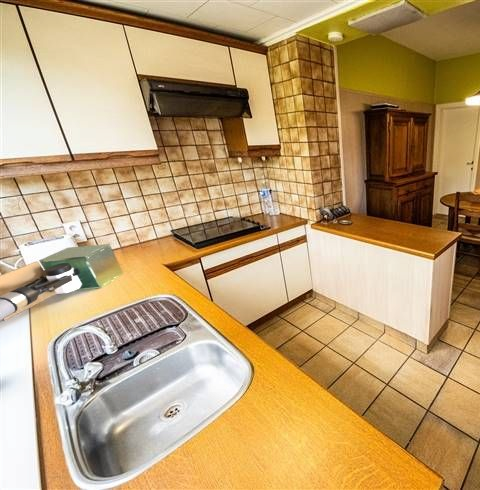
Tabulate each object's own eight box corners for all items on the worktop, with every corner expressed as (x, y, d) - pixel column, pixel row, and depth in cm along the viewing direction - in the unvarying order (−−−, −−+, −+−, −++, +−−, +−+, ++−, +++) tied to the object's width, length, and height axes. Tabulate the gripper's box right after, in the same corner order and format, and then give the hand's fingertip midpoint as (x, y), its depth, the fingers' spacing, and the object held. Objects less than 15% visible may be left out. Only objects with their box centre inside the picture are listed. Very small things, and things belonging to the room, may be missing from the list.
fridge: (102, 288, 133) (85, 256, 126) (58, 292, 131) (38, 260, 124) (123, 273, 147) (109, 243, 139) (84, 277, 145) (67, 247, 138)
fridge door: (-9, 320, 112) (-37, 284, 105) (45, 293, 131) (25, 261, 124) (4, 320, 112) (-22, 284, 105) (58, 293, 130) (38, 261, 123)
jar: (87, 283, 130) (75, 262, 125) (71, 293, 122) (57, 270, 118) (69, 284, 130) (56, 263, 125) (51, 294, 122) (37, 271, 117)
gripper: (-5, 309, 107) (51, 280, 128) (49, 304, 109) (95, 276, 130) (-16, 294, 104) (42, 266, 125) (39, 288, 106) (88, 262, 127)
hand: (69, 271), depth 127 cm, fingers closed on jar, 7 cm apart
